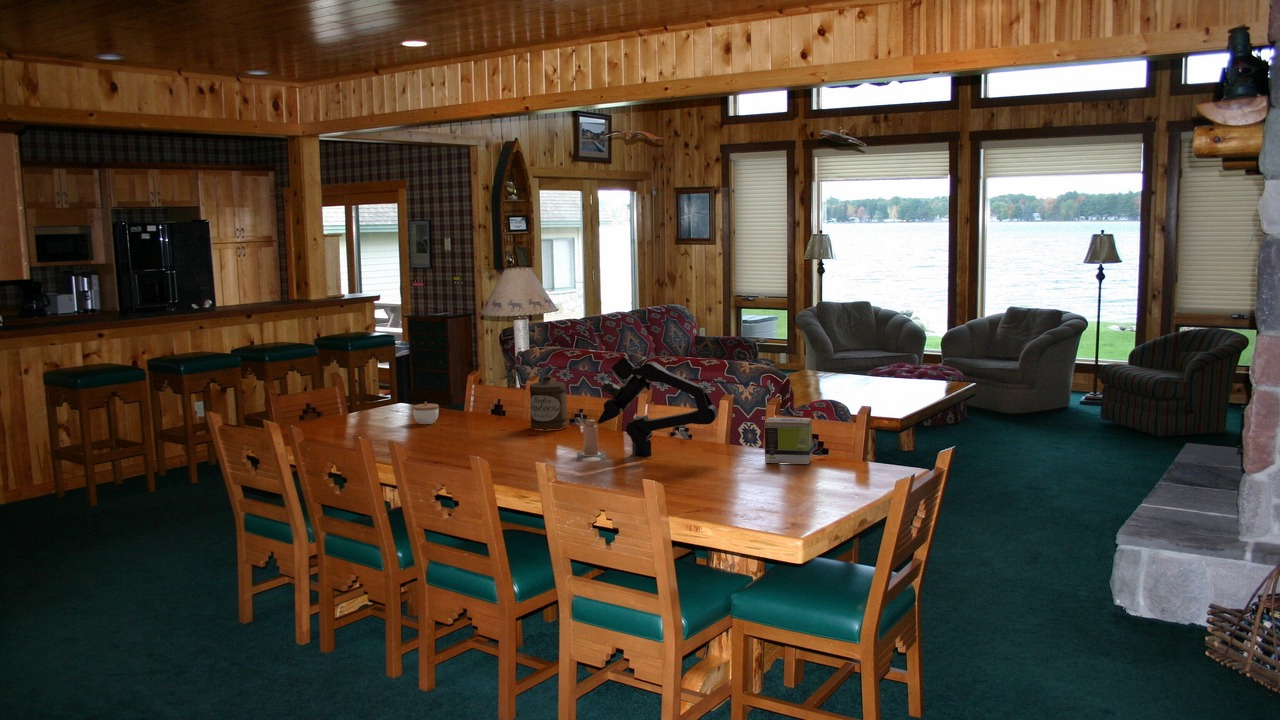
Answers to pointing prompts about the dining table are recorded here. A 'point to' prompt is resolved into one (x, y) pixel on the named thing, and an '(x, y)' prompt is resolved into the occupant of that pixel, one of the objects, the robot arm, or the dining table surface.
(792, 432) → the tea box
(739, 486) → the dining table surface
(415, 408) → the lidded jar
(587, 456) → the slate board
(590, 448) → the light brown tall cylinder
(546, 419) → the labelled canister
